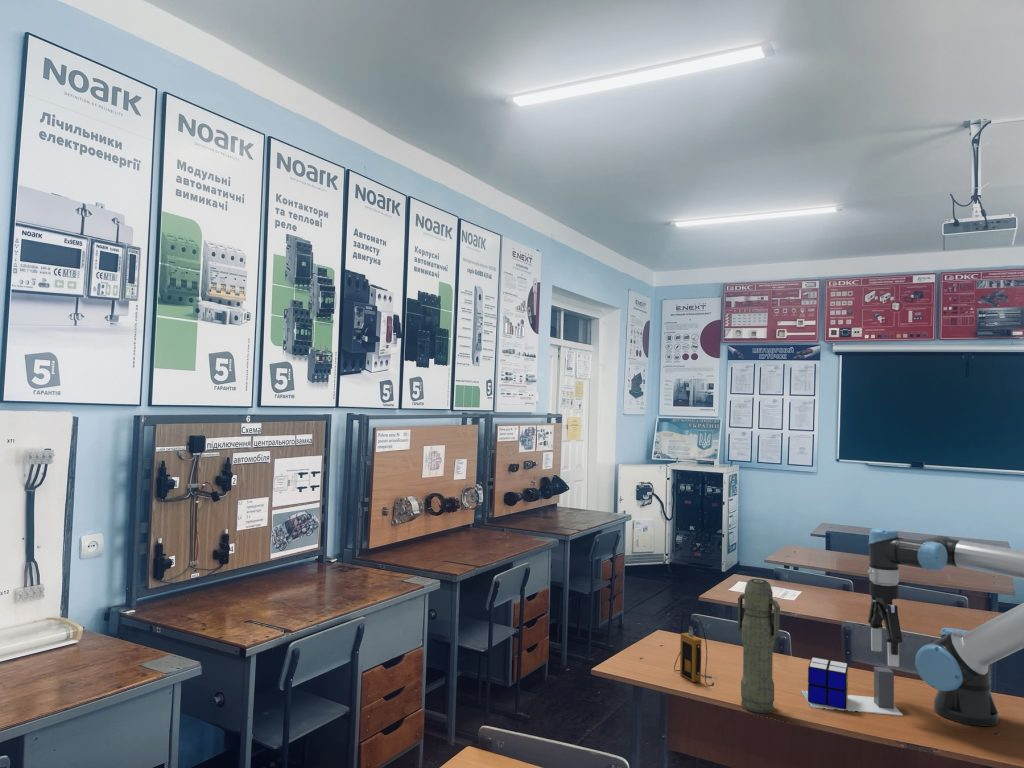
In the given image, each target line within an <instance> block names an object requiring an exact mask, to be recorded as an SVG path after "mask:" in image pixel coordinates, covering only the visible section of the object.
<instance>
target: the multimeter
mask: <svg viewBox="0 0 1024 768" xmlns="http://www.w3.org/2000/svg"><path fill="white" fill-rule="evenodd" d="M685 615H687V616H688V619H689V628H688V629H689V630H688V632H685V633H684V632H683V620H684V617H685ZM694 618H695V619H696V618H697V620H698V621H699V624H700V625H701V628H702V632H703V635H704V641H705V649H706V651H705V652H706V654H705V655H706V659H705V669H704V670H705V671H704V673H705V674H702V638H700V637H698V636H696V635H694V630H693V629H694V627H693V624H694V622H693V621H694ZM680 623H681V624H680V630H681V633H680V646H679V647H680V648H679V649H680V651H679V653H678V655H677V658H676V661H675V663H674V666H673V669H674V671H675V672H679V674H680V677H684V678H686V679H688V680H689V681H691V683H698V682H701V681H702V677H704V682H705V685H706V686H710V687H713V686H714V684H715V682H714V681H715V679H714V678H716V679H718V678H719V677H718V676H712V675H708V674H707V664H708V644H707V639H706V634H705V633H706V632H705V629H704V627H703V624H702V622H701V620H700V618H699V617H698V616H692V618H691V616H690V615H689V613H688V612H687V611H685V612H684V614H683V616H682V617H681V622H680ZM678 660H679V662H680V663H679V664H680V665H679V666H680V667H679V669H676V664H677V662H678ZM707 678H711V682H712V684H708V683H707Z"/></svg>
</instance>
